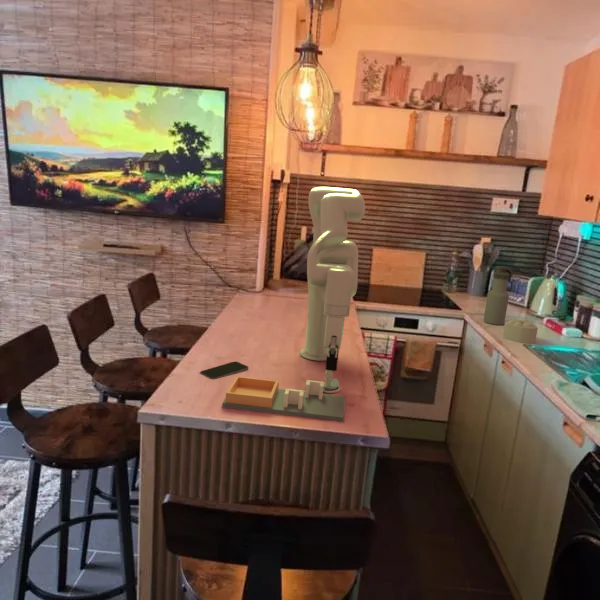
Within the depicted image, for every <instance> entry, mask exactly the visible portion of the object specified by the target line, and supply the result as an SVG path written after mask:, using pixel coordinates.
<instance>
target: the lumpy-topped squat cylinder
mask: <svg viewBox="0 0 600 600" xmlns="http://www.w3.org/2000/svg"><path fill="white" fill-rule="evenodd" d="M538 329H539V328H538V326H536V324H534V322H532V321H529V320H528V319H522V320H521V319H519V318H512V319H510V320H507V321H506V320H505V322H504V327H503V333H502V338H503V339H505V340H507V341H511V342H515V343H519V344H525V345H535V344H536V339H537V335H538Z"/></svg>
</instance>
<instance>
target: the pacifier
mask: <svg viewBox="0 0 600 600" xmlns="http://www.w3.org/2000/svg"><path fill="white" fill-rule="evenodd" d="M325 370H326V369H325ZM333 376H334V374H333V371H330V370H326V371H325V372H324V378H325V382H324V388H323V393H326V394H337V393H339V392H340V391H341V390H342V388H341V387H340V386H339V384H340V382H339V380H338V379H336V378H333Z"/></svg>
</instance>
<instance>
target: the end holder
mask: <svg viewBox="0 0 600 600" xmlns="http://www.w3.org/2000/svg"><path fill="white" fill-rule="evenodd" d="M279 382H280V381H279V380H277V379H276V380H274V379H265V378H257V377H248V376H239V375H237V376H235V378H234V380H233V381H232V383H231V384H230V386H229V387H228V389H227V390H226V392H225V398H226V402H227V403H235V404H244V405H252V406H260V407H269V408H271V407H272V404H273V402H274V399H275V397H276V394H277V391H278V389H279Z"/></svg>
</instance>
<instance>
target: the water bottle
mask: <svg viewBox="0 0 600 600" xmlns="http://www.w3.org/2000/svg"><path fill="white" fill-rule="evenodd" d="M495 269H496V271H494V273H493V282H492V285H491V286H492V287H491V290H489V291H488V292H487V297H486V300H485V301H486V302H485V306H484V307H485V308H484V315H483V322H484V323H486V324H489V325H492V326H502V325H505V322H506V316H507V312H508V311H507V309H508V304H509V298H510V294H509V293H508V292H512V290H513V287H514V283H513V281H512V278H513V277H514V270H513V269H512V268H511V267H509V266H504V265H496V266H495ZM504 270H505V271H504ZM508 282H509V283H510V287H509V289H508V288H507V287H508V284H509V283H508Z"/></svg>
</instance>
